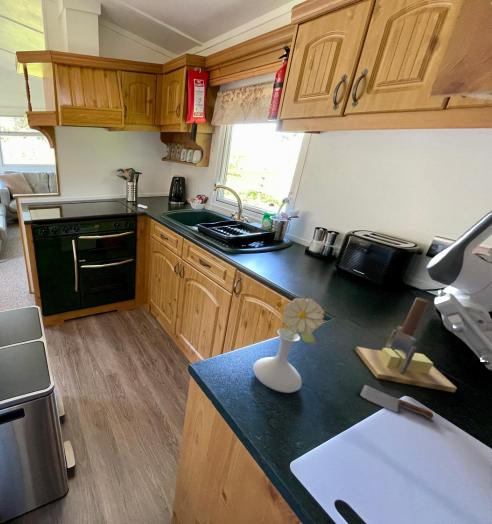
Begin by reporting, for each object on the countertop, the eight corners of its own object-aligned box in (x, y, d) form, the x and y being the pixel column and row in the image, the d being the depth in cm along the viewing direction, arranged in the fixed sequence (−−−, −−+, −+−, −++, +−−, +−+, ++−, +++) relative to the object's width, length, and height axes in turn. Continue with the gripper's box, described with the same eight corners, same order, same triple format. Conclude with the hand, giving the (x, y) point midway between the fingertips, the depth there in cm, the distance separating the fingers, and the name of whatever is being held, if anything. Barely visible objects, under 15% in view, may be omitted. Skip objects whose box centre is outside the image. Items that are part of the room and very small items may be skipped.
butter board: (422, 362, 85) (437, 333, 81) (454, 392, 74) (473, 361, 70) (355, 350, 88) (366, 322, 84) (376, 378, 77) (390, 347, 73)
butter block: (418, 364, 81) (423, 354, 80) (428, 374, 78) (433, 363, 76) (389, 359, 82) (394, 349, 81) (398, 368, 79) (403, 358, 78)
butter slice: (386, 358, 83) (391, 348, 81) (395, 368, 79) (400, 357, 78) (378, 357, 83) (383, 347, 82) (386, 366, 79) (391, 356, 78)
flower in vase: (243, 366, 77) (263, 282, 69) (279, 362, 80) (303, 281, 71) (274, 406, 66) (303, 310, 57) (315, 399, 68) (350, 307, 59)
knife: (397, 344, 82) (419, 295, 76) (411, 358, 76) (437, 306, 70) (386, 342, 82) (408, 293, 77) (400, 357, 76) (425, 304, 71)
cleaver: (360, 394, 70) (364, 380, 73) (358, 398, 71) (362, 384, 74) (434, 428, 62) (434, 411, 65) (431, 432, 63) (431, 415, 66)
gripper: (453, 282, 77) (460, 305, 67) (509, 347, 74) (525, 380, 64) (424, 292, 81) (427, 314, 72) (476, 353, 79) (487, 385, 69)
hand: (474, 346), depth 68 cm, fingers open, 8 cm apart
